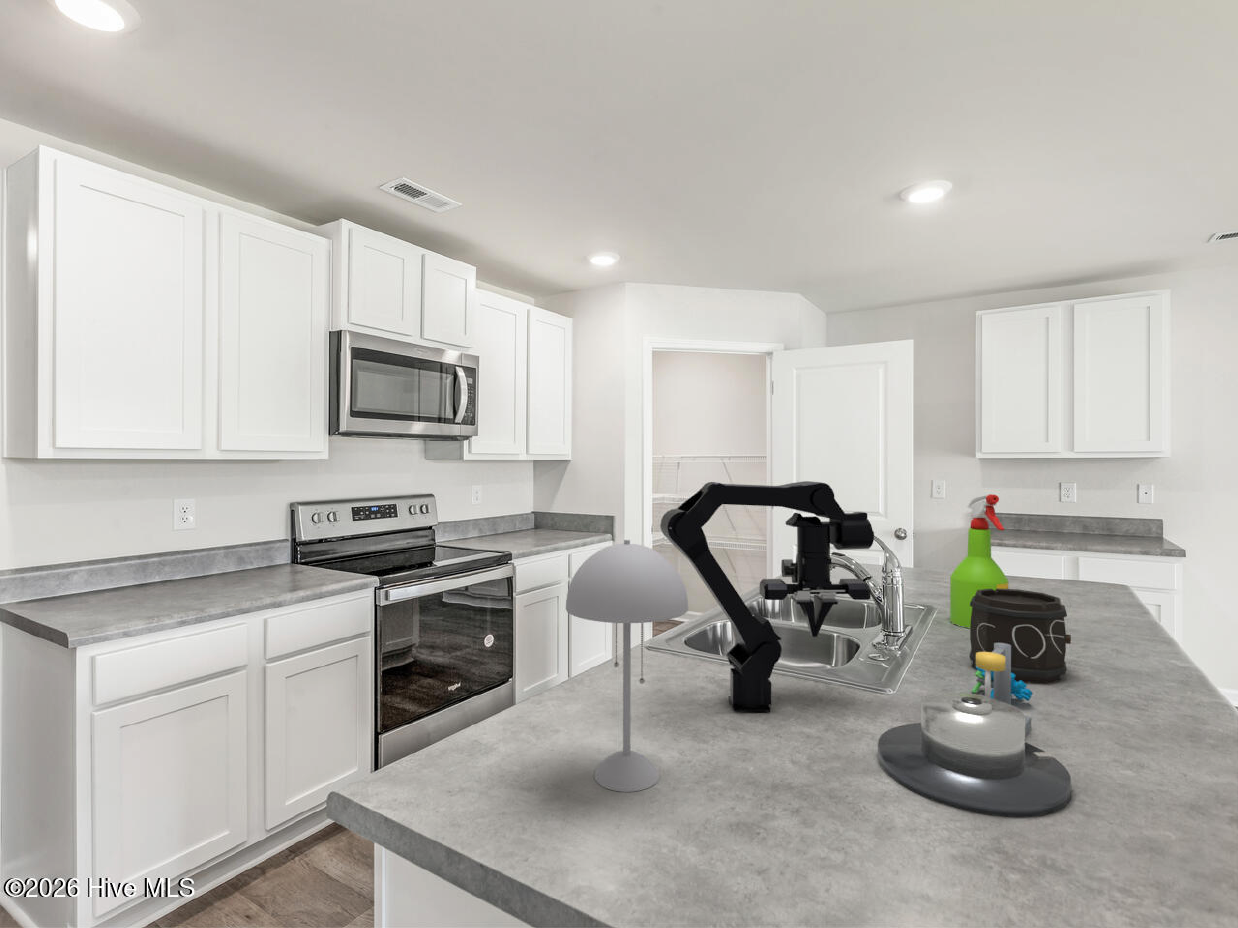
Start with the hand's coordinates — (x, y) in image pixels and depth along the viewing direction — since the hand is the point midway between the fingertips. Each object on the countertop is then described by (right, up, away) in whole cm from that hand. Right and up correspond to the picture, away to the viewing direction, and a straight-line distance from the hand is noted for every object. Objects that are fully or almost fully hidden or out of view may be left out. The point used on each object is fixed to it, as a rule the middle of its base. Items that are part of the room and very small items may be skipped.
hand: (814, 636), depth 120 cm
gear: (+35, -12, +2) cm, 37 cm away
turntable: (+14, -12, -26) cm, 32 cm away
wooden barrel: (+48, -12, +18) cm, 53 cm away
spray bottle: (+60, -12, +54) cm, 82 cm away
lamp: (-34, -13, -27) cm, 46 cm away
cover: (+15, -10, -26) cm, 32 cm away
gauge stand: (+25, -12, -14) cm, 31 cm away
